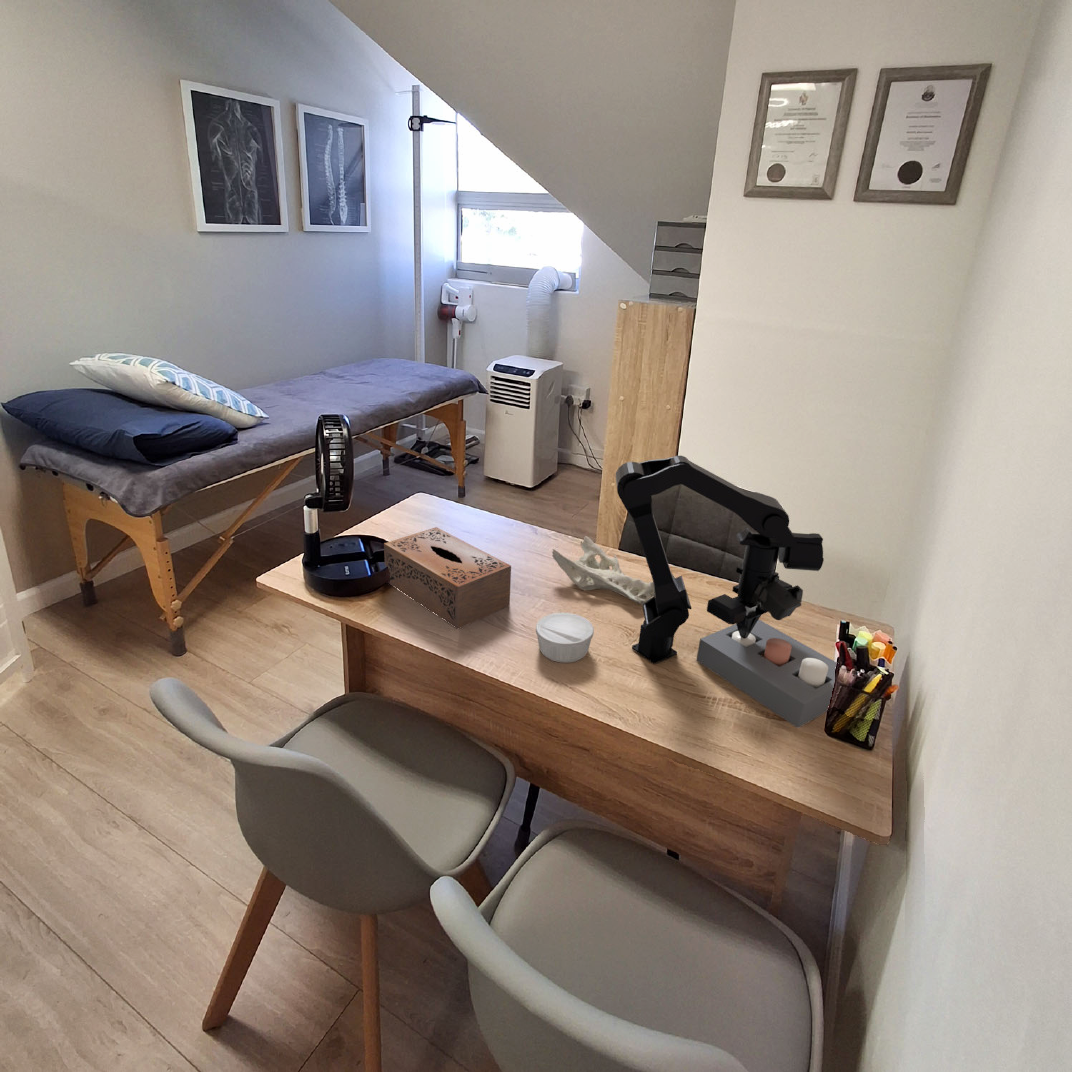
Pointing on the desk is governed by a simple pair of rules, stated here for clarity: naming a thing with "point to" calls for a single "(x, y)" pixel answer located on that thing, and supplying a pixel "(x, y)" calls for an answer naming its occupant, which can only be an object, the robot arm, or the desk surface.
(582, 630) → the ramekin
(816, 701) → the housing
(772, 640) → the knob middle
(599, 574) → the skull
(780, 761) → the desk surface
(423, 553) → the tissue box cover
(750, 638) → the knob
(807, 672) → the knob
